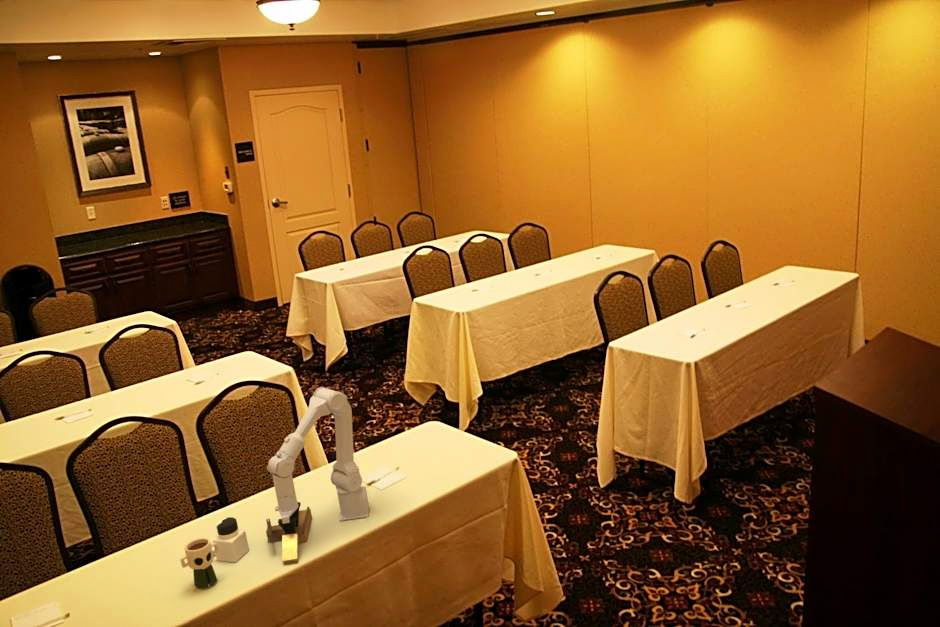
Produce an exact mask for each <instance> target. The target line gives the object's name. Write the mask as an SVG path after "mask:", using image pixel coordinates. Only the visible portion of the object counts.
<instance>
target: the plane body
mask: <svg viewBox="0 0 940 627" xmlns="http://www.w3.org/2000/svg"><path fill="white" fill-rule="evenodd" d="M312 518H313V516H312V510H311V508H310V506H307V507H306V509H302V510H299V524H298V527H295V530H296V533H297V534H298V545H299V544H304V543H308V539H309V538H308V537H309V533H310V528H311V525H312V524H311V523H312ZM271 527H272V534H273V541H274V542H275V543H276V542H282V535H286V534H285V532H284V530H283V529H282V527H281V526H280V525H279V524H275V525H271ZM265 534H266V538H267V543H270V539H269V533H268V527H267V526H266V530H265ZM270 544H271V543H270Z"/></svg>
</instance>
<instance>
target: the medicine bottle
mask: <svg viewBox="0 0 940 627" xmlns="http://www.w3.org/2000/svg"><path fill="white" fill-rule="evenodd" d="M215 526H216V532H217V536H216V537H215V538H214V539H212V543H214V542H216V543H217V546H218V552H217V553H215V556H216V561H218V562H227V563H237V562H238V561H240V560H241V558H242V557H243V556H245V554H247V553H248V552H249V550H250V547H249V544H248V543H249V542H248V537H247V533H246V530H245V529H239V526H238V521H237V519H236V518H235V517H234V516H233V517H229V516H228V517H224V518H222V519H220V520H219V521H217V522H216V524H215ZM213 548H214V547H213ZM214 550H215V548H214Z"/></svg>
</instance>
